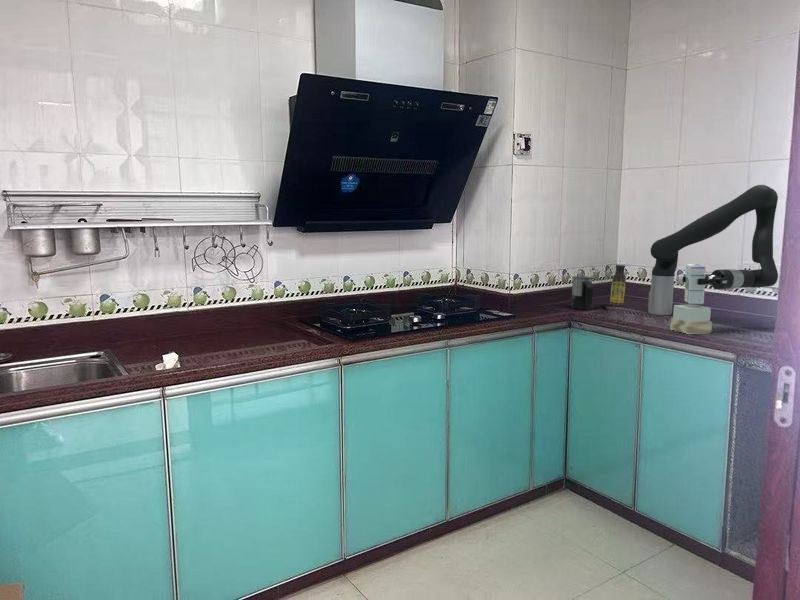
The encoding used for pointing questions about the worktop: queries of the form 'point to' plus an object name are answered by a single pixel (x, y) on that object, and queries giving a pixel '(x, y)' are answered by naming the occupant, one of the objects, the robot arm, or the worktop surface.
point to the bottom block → (691, 326)
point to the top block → (692, 313)
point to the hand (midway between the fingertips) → (690, 280)
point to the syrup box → (694, 284)
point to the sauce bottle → (618, 286)
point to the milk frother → (583, 293)
